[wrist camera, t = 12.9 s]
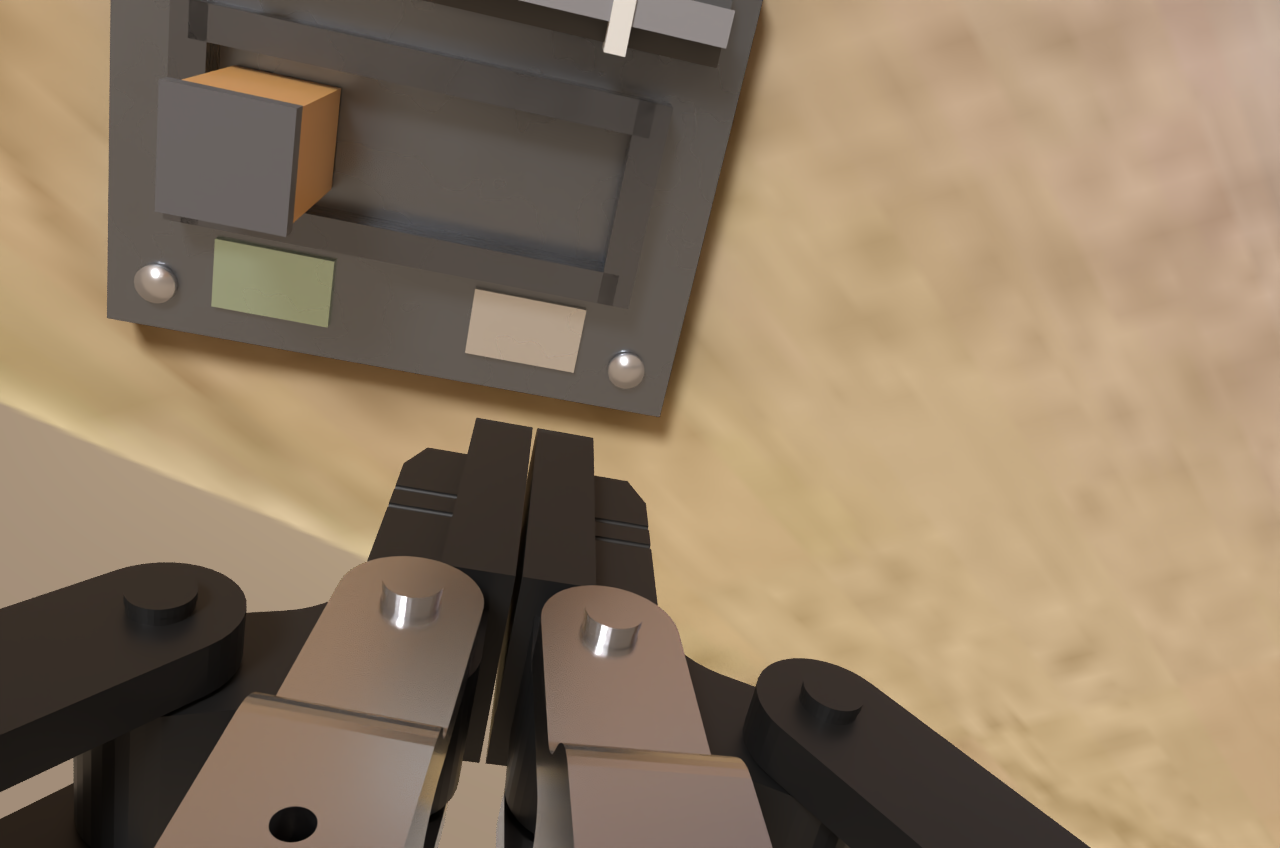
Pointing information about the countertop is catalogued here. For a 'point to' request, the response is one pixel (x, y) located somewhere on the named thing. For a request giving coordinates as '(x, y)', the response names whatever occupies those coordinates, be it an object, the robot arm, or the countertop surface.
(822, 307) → the countertop surface
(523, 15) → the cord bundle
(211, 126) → the lever
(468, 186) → the breaker panel
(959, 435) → the countertop surface
